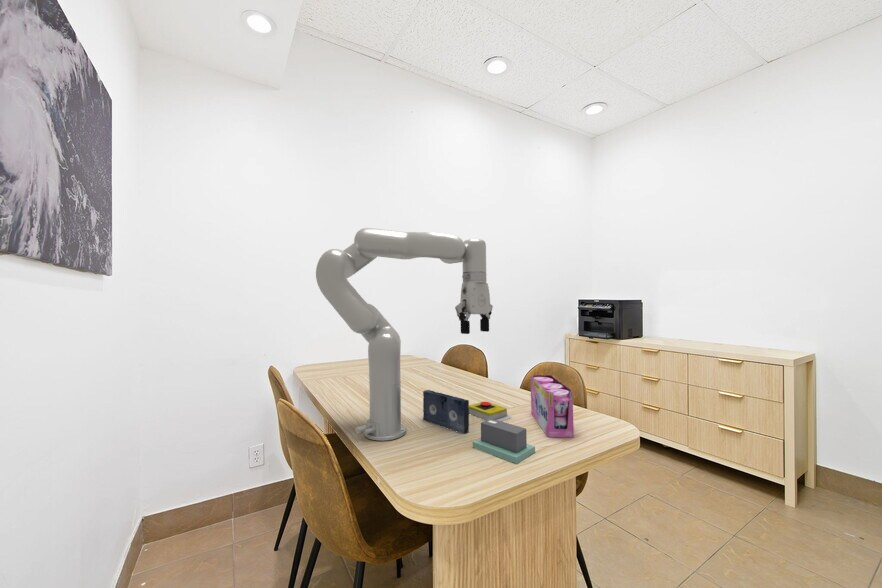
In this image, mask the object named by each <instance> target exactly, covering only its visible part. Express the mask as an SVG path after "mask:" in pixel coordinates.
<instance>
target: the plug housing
mask: <svg viewBox="0 0 882 588" xmlns="http://www.w3.org/2000/svg"><path fill="white" fill-rule="evenodd" d="M480 438H481V441H483V442H486V443H488V444H491V445H494V446H497V447H500V448H502V449H505V450H508V451H511V452H514V453H516V454H517V453H518V452H520V451H522V450H524V449H525V448H527V444H528V443H527V440H528V439H527V428H525V427H522V426H520V425H519V426H518V425H516V424H512V423H508V422H506V421H498V420H495V419H489V420H483V421H482V422H480Z"/></svg>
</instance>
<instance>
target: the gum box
mask: <svg viewBox="0 0 882 588" xmlns="http://www.w3.org/2000/svg"><path fill="white" fill-rule="evenodd" d="M573 395H574V394H573V390H572V389H571V388H570V387H569V386H566V384H564V383H562V382H561V381H560V380H558V379H557V378H556V377H555V376H553V375H551V374H542V375H541V374H536V375H535V374H534V375H533V374H531V375H530V411H531V414H532V416H533V418H534V420H535V421H536V422H537V423H538V425H539V426H540V427H541V429H542V431H543V433H545V435H546V436H547V437H548V438H574V437H575V435H574V433H575V432H574V430H575V429H574V428H575V427H574V402H573V401H574V398H573V397H574V396H573Z"/></svg>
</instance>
